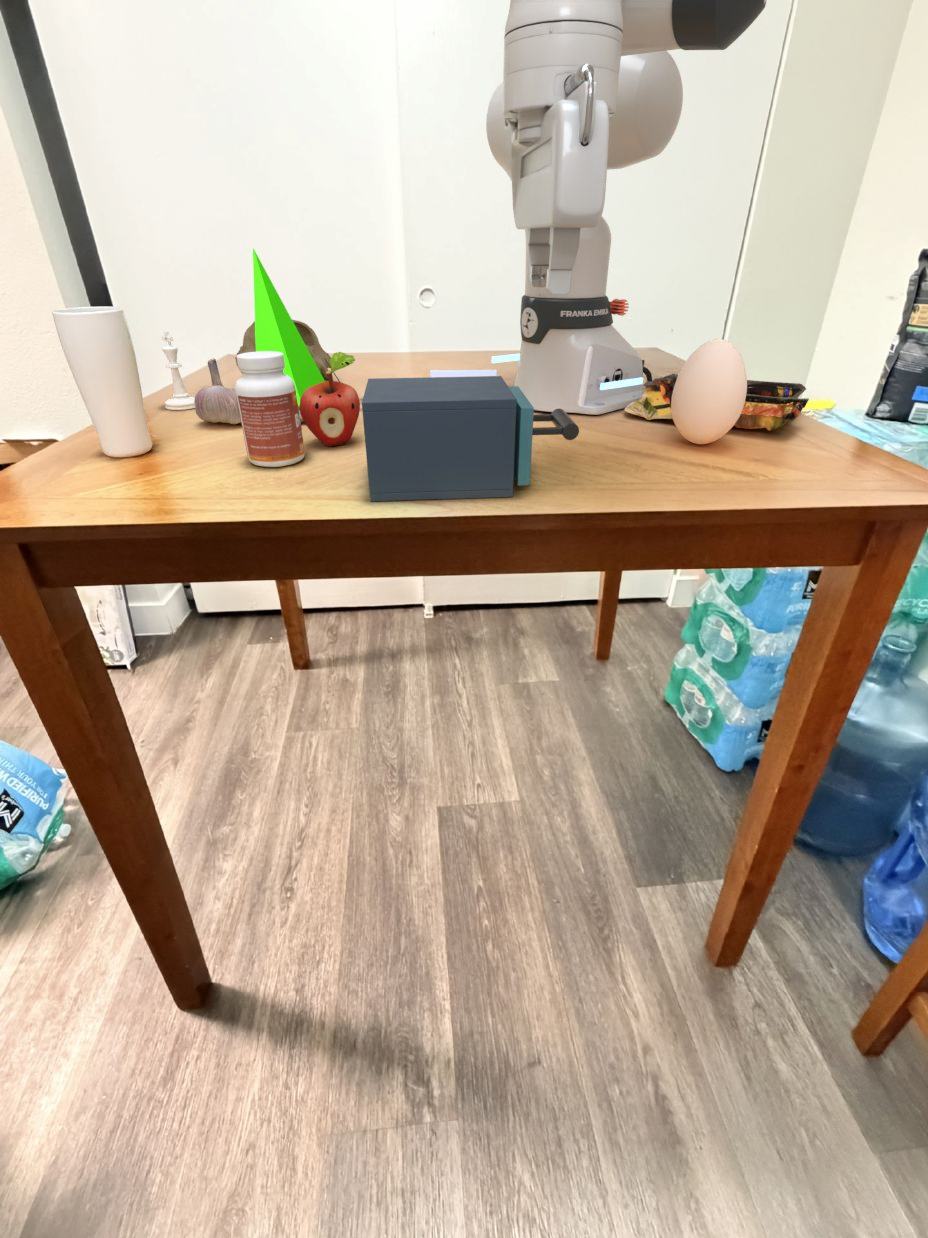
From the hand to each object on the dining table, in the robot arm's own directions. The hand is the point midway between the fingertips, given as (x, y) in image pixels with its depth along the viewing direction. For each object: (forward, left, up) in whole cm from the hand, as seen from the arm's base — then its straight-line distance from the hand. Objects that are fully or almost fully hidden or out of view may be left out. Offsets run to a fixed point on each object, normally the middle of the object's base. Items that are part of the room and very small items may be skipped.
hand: (547, 290), depth 56 cm
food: (-35, -8, -13) cm, 39 cm away
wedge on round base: (-3, -24, -17) cm, 30 cm away
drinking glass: (+35, -32, -17) cm, 51 cm away
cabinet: (+9, -4, -17) cm, 20 cm away
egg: (-24, 0, -17) cm, 29 cm away
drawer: (+5, -2, -16) cm, 17 cm away
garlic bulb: (+23, -39, -17) cm, 48 cm away
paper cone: (+13, -50, +2) cm, 52 cm away
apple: (+13, -23, -17) cm, 32 cm away
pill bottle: (+21, -20, -17) cm, 34 cm away
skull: (+8, -55, -19) cm, 58 cm away
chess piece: (+26, -53, -17) cm, 61 cm away
